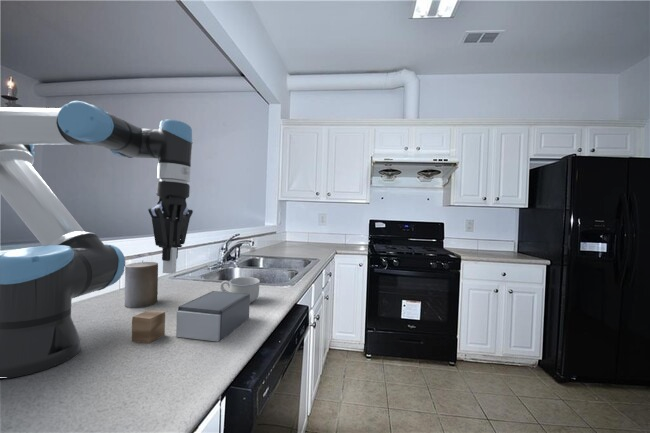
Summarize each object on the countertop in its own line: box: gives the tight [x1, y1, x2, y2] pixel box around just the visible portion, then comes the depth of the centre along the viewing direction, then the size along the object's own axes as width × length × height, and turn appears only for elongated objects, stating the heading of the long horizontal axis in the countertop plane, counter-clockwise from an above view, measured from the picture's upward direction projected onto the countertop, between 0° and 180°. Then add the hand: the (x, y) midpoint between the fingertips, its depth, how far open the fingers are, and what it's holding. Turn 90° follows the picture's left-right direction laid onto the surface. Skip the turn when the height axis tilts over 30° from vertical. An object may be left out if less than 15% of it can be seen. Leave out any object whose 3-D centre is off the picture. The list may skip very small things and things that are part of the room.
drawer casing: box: [177, 290, 251, 341], centre depth 79 cm, size 16×12×8 cm
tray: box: [175, 310, 221, 342], centre depth 76 cm, size 12×12×6 cm
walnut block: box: [131, 309, 166, 344], centre depth 70 cm, size 5×5×6 cm
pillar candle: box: [124, 260, 159, 309], centre depth 96 cm, size 10×10×15 cm
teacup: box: [220, 276, 261, 304], centre depth 102 cm, size 14×11×8 cm
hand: (169, 272), depth 72 cm, fingers closed
